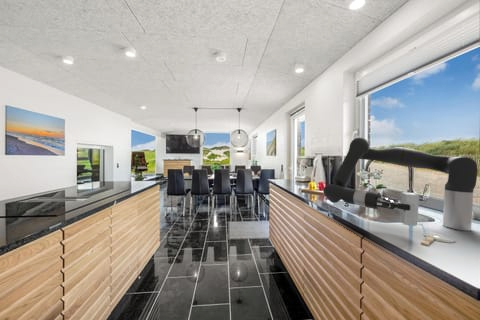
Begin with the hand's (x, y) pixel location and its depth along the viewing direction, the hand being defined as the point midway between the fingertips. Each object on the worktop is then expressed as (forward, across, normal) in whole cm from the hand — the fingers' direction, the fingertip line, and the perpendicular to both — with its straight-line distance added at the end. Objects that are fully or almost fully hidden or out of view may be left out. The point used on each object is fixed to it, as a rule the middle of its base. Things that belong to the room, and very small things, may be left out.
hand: (412, 206), depth 82 cm
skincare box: (-1, 0, +7) cm, 7 cm away
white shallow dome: (+6, +9, +12) cm, 17 cm away
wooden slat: (+5, 0, +12) cm, 13 cm away
